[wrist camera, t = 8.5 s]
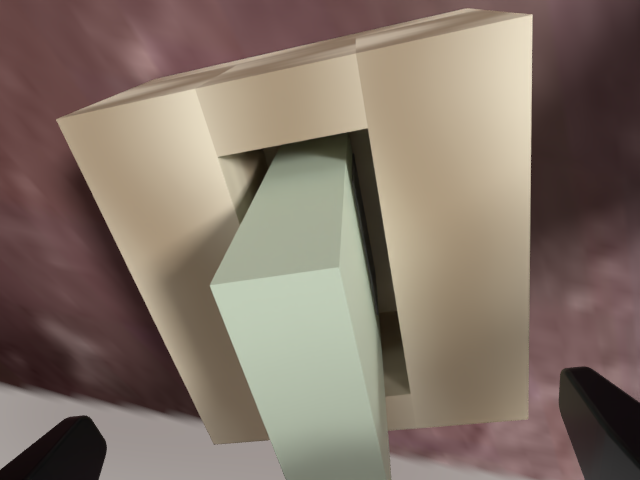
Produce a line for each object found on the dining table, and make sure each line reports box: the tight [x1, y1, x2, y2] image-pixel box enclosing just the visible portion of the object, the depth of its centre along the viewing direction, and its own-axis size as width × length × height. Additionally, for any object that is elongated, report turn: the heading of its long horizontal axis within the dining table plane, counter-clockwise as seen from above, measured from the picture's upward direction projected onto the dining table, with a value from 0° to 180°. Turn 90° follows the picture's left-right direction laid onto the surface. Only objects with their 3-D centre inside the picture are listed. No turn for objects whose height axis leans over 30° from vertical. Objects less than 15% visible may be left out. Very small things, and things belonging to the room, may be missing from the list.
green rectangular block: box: [210, 132, 391, 480], centre depth 11 cm, size 2×6×8 cm, turn 12°
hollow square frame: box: [56, 8, 532, 445], centre depth 14 cm, size 10×11×6 cm
